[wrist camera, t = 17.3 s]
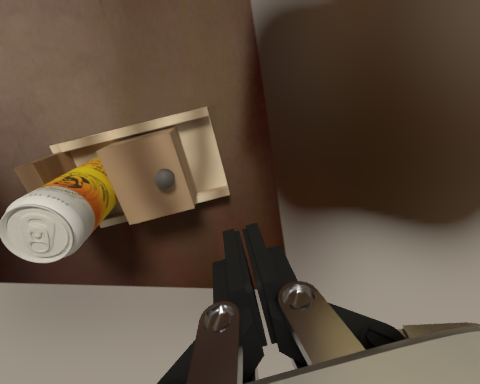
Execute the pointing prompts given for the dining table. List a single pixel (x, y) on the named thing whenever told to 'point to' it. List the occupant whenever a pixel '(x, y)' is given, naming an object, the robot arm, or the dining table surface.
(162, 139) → the block
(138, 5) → the dining table surface
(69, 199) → the beer can
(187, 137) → the vise base
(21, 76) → the dining table surface
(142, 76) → the dining table surface
